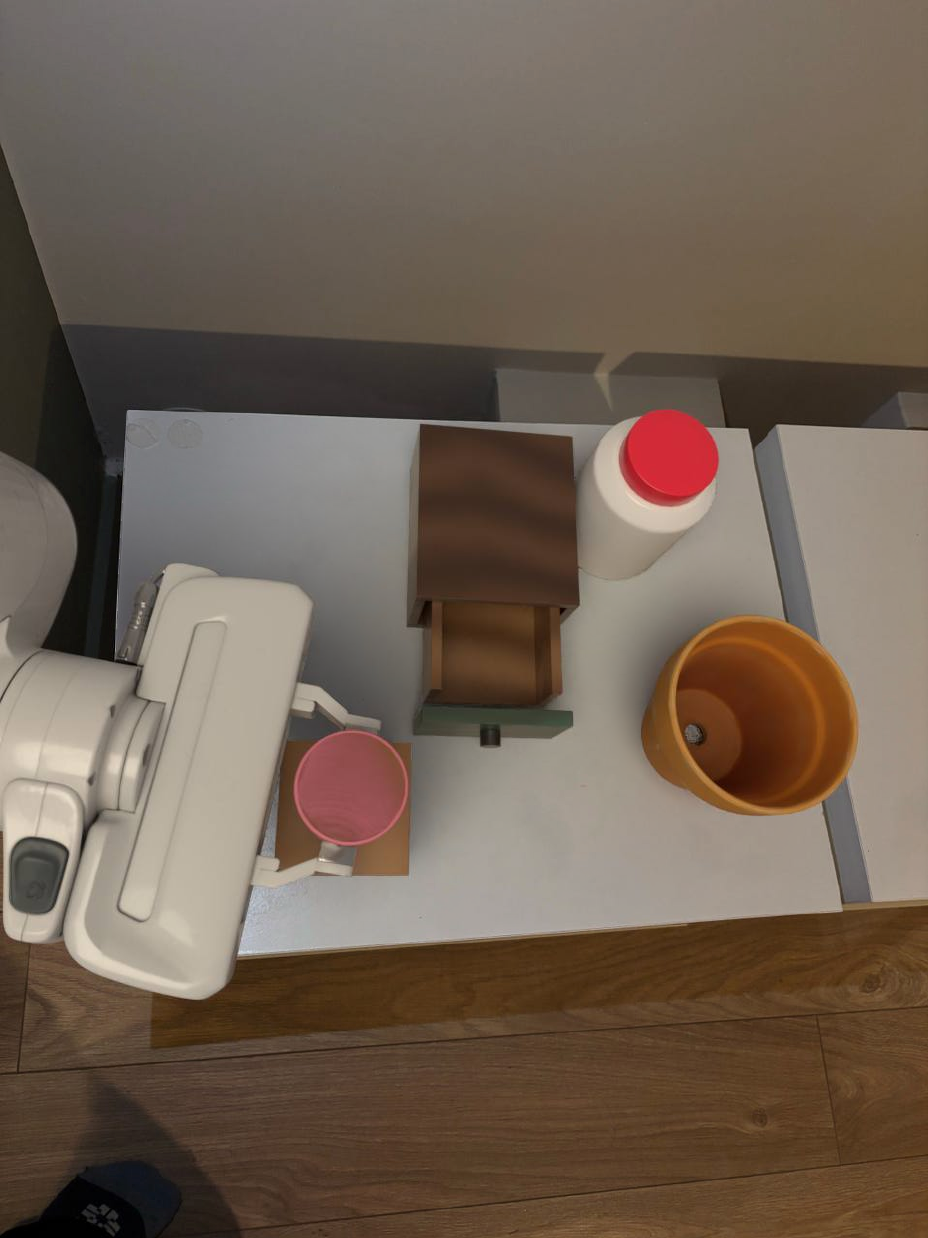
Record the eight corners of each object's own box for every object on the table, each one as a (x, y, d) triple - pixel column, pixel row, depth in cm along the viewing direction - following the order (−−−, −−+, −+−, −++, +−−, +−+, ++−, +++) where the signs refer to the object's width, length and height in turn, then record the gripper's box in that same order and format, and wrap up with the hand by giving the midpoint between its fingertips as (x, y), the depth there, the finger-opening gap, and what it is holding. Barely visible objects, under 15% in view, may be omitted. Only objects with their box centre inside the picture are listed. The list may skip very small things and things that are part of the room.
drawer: (551, 753, 66) (574, 742, 60) (412, 750, 64) (420, 738, 58) (546, 583, 70) (567, 557, 64) (415, 575, 68) (424, 548, 62)
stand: (285, 873, 61) (272, 875, 47) (291, 766, 63) (282, 739, 50) (391, 873, 62) (409, 875, 49) (394, 768, 64) (411, 742, 51)
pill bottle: (541, 488, 73) (590, 403, 60) (641, 468, 76) (710, 382, 62) (575, 591, 71) (634, 526, 57) (677, 567, 73) (757, 500, 60)
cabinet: (552, 634, 70) (580, 605, 62) (406, 627, 68) (416, 596, 60) (547, 480, 74) (572, 436, 66) (410, 470, 72) (419, 423, 64)
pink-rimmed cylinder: (297, 849, 45) (289, 845, 36) (303, 756, 47) (297, 727, 37) (390, 850, 46) (407, 846, 36) (393, 758, 47) (410, 731, 38)
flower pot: (628, 836, 65) (697, 829, 53) (593, 667, 69) (651, 624, 57) (784, 810, 68) (884, 798, 56) (743, 649, 72) (828, 604, 60)
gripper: (159, 576, 46) (398, 624, 47) (43, 961, 39) (324, 1003, 41) (134, 532, 40) (408, 589, 41) (-7, 978, 33) (324, 1027, 35)
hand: (366, 798), depth 41 cm, fingers closed on pink-rimmed cylinder, 5 cm apart
